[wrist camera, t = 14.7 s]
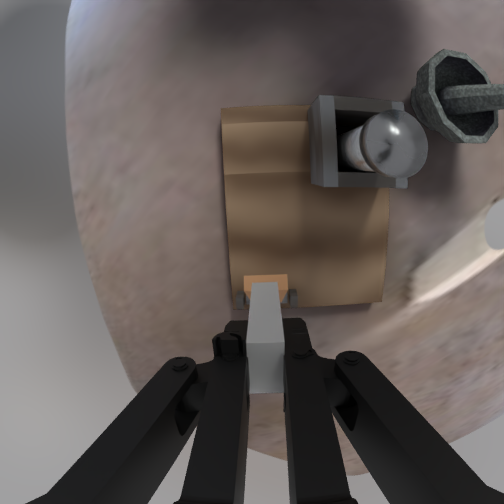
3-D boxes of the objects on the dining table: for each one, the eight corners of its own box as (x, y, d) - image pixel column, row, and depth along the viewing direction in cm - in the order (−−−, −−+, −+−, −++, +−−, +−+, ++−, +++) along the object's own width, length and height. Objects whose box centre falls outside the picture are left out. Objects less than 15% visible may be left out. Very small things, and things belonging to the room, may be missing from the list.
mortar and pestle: (404, 145, 27) (473, 139, 15) (388, 65, 25) (443, 25, 13) (476, 144, 26) (545, 145, 15) (462, 73, 24) (524, 51, 12)
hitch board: (223, 112, 27) (209, 92, 19) (378, 113, 26) (413, 98, 19) (235, 301, 32) (226, 340, 25) (375, 294, 32) (403, 328, 24)
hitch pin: (356, 135, 27) (425, 113, 14) (358, 173, 28) (428, 179, 15) (319, 133, 27) (365, 105, 14) (320, 173, 28) (368, 176, 15)
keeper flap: (234, 275, 19) (234, 292, 19) (296, 273, 19) (297, 289, 19) (246, 294, 30) (247, 304, 30) (286, 292, 30) (286, 303, 29)
